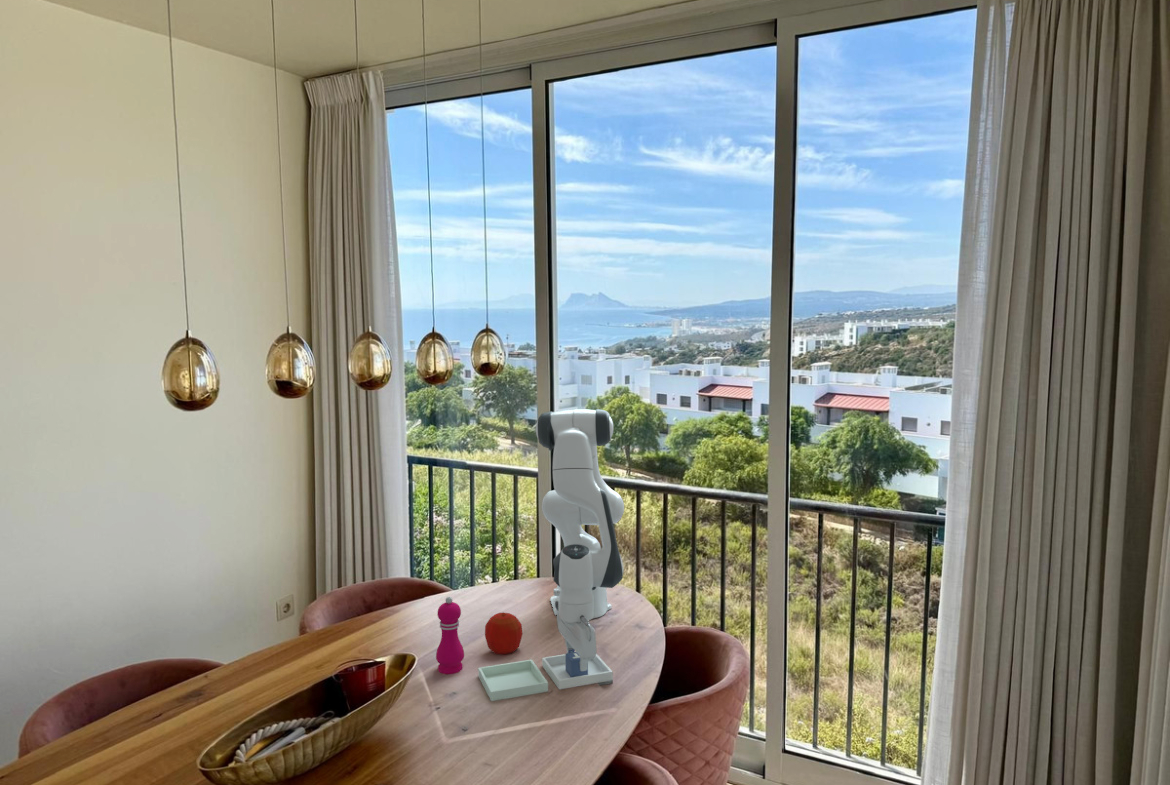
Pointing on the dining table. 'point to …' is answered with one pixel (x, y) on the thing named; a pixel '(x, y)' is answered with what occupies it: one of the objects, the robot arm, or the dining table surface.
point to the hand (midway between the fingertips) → (576, 662)
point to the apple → (503, 633)
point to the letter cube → (574, 665)
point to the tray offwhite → (562, 680)
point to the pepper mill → (449, 639)
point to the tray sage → (512, 680)
